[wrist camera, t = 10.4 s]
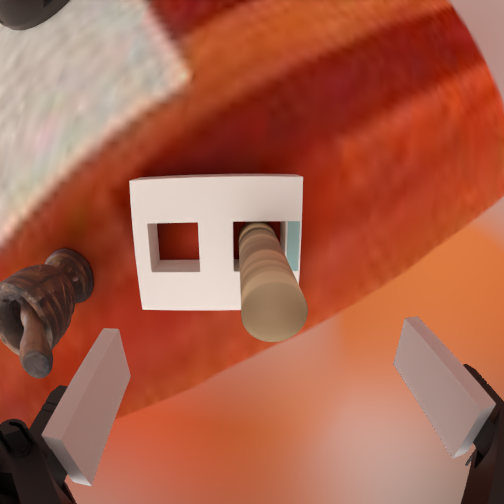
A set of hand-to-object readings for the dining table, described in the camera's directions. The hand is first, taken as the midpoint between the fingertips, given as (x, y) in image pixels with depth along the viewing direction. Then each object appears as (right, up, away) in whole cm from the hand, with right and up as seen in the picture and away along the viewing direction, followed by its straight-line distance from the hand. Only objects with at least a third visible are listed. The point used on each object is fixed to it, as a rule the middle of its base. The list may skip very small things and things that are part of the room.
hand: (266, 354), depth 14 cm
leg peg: (0, +6, +22) cm, 23 cm away
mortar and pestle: (-22, +2, +23) cm, 32 cm away
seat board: (-4, +6, +22) cm, 24 cm away
